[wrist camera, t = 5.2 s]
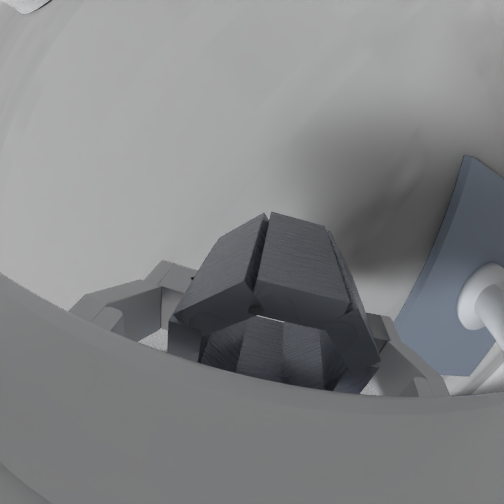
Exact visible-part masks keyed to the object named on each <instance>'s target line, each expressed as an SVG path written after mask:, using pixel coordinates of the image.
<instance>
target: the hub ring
mask: <svg viewBox="0 0 504 504" xmlns="http://www.w3.org/2000/svg"><path fill="white" fill-rule="evenodd" d="M256 315H260V316H264V317H268V318H272V319H276V320H280V321H284V323H283V322H278V321H274V320H270V319H266V318H262V317H258V316H256ZM167 353H169V354H172V355H175V356H178V357H181V358H184V359H187V360H191V361H194V362H197V363H201V364H204V365H208V366H211V367H215V368H218V369H222V370H226V371H230V372H233V373H237V374H242V375H246V376H250V377H254V378H259V379H263V380H268V381H273V382H278V383H283V384H289V385H295V386H300V387H307V388H313V389H320V390H327V391H335V392H343V393H353V394H359V393H360V392H361V391H362V390H363V389H364V387H365V386H366V385H367V384H368V382H369V381H370V380H371V379H372V377H373V376H374V375H375V373H376V372H377V371H378V369H379V368H380V367H379V363H378V362H381V359H380V356H379V352H378V349H377V346H376V343H375V339H374V336H373V333H372V330H371V327H370V324H369V321H368V318H367V315H366V313H365V310H364V307H363V304H362V301H361V299H360V296H359V293H358V290H357V288H356V285H355V282H354V280H353V277H352V275H351V272H350V270H349V268H348V266H347V264H346V262H345V260H344V258H343V256H342V254H341V252H340V250H339V248H338V246H337V244H336V242H335V240H334V238H333V236H332V234H331V232H330V231H328V232H326V229H325V226H321V225H318V224H314V223H311V222H307V221H304V220H300V219H297V218H293V217H289V216H286V215H282V214H278V213H274V212H271V215H270V219H269V220H268V218H267V217H266V215H265V213H263V214H261V215H259V216H257V217H255V218H254V219H252V220H250V221H248V222H246V223H245V224H243V225H241V226H239V227H238V228H236V229H234V230H232V231H231V232H229V233H227V234H225V235H224V236H222V237H220V238H219V239H218V241H217V242H216V243H215V245H214V246H213V248H212V249H211V251H210V253H209V254H208V256H207V257H206V259H205V261H204V262H203V264H202V266H201V267H200V269H199V270H198V272H197V274H196V275H195V277H194V279H193V280H192V282H191V284H190V285H189V287H188V289H187V290H186V292H185V294H184V295H183V297H182V299H181V300H180V302H179V304H178V305H177V307H176V309H175V310H174V312H173V314H172V315H171V317H170V319H169V322H168V351H167Z"/></svg>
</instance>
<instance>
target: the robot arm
mask: <svg viewBox="0 0 504 504" xmlns="http://www.w3.org/2000/svg"><path fill="white" fill-rule="evenodd" d="M0 1H2V2H5V3H6V4H8V5H10V6H12V7H13V8H15V9H16V10H17V11H19V12H20V13H22V14H27V13H30V12H32V11H34V10H36V9H38V8H40V7H41V6H42V5H44V4H45V3H47V2H48V1H49V0H0ZM197 272H198V270H195V269H191V268H188V267H185V266H182V265H178V264H175V263H172V262H168V261H165V260H162V261H161V262H160V263H159V264H158V265H157V266H156V267H155V268H154V269H153V271H152V272H151V273H150V274H149V275H148V276H147V277H146V278H145V280H144V281H143V280H136V281H133V282H129V283H126V284H122V285H118V286H115V287H111V288H108V289H104V290H101V291H97V292H93V293H90V294H86V295H84V296H83V297H82V298H81V299H80V300H79V301H78V302H77V303H76V304H75V305H74V306H73V307H72V308H71V309H70V310H69V311H66V310H64V309H62V308H60V307H58V306H56V305H54V304H53V303H51V302H49V301H47V300H45V299H43V298H42V297H40V296H38V295H36V294H34V293H33V292H31V291H29V290H28V289H26V288H24V287H23V286H21V285H19V284H18V283H16V282H14V281H13V280H11V279H10V278H8V277H7V276H5V275H3V274H2V273H0V504H504V392H496V393H488V394H479V395H467V396H450V394H449V392H448V389H447V387H446V384H445V382H444V380H443V378H442V377H441V376H440V375H439V374H438V373H437V372H436V371H435V370H434V369H433V368H432V367H430V366H429V365H428V364H427V363H426V362H425V361H424V360H423V359H422V358H421V357H419V356H418V355H417V354H416V353H415V352H414V351H413V350H412V349H411V348H409V347H408V346H407V345H406V344H405V343H402V342H401V339H400V337H399V335H398V332H397V330H396V328H395V325H394V323H393V321H392V319H391V318H390V317H389V316H382V315H376V314H371V313H366V312H365V313H366V315H367V318H368V321H369V324H370V327H371V330H372V333H373V336H374V339H375V343H376V346H377V349H378V352H379V356H380V359H381V362H378V363H379V367H380V368H379V369H378V371H377V372H376V373H375V375H374V376H373V377H372V379H371V380H370V381H369V382H368V383H369V384H370V385H371V387H372V388H373V390H374V391H375V392H376V394H377V395H378V396H376V395H364V394H353V393H343V392H335V391H327V390H320V389H313V388H307V387H300V386H295V385H289V384H283V383H278V382H273V381H268V380H263V379H259V378H254V377H250V376H246V375H242V374H237V373H233V372H230V371H226V370H222V369H218V368H215V367H211V366H208V365H204V364H201V363H197V362H194V361H191V360H187V359H184V358H181V357H178V356H175V355H172V354H169V353H166V352H163V351H160V350H158V349H155V348H152V347H149V346H146V345H144V344H141V343H139V342H138V341H140V340H141V339H143V338H145V337H147V336H149V335H150V334H152V333H154V332H156V331H158V330H159V329H160V328H162V329H165V330H168V322H169V319H170V317H171V315H172V314H173V312H174V310H175V309H176V307H177V305H178V304H179V302H180V300H181V299H182V297H183V295H184V294H185V292H186V290H187V289H188V287H189V285H190V284H191V282H192V280H193V279H194V277H195V275H196V274H197Z"/></svg>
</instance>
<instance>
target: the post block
mask: <svg viewBox="0 0 504 504" xmlns="http://www.w3.org/2000/svg"><path fill="white" fill-rule="evenodd" d="M394 325H395V328H396V330H397V332H398V335H399V337H400V339H401V342H402V343H405V344H406V345H407V346H408V347H409V348H411V349H412V350H413V351H414V352H415V353H416V354H417V355H418V356H419V357H421V358H422V359H423V360H424V361H425V362H426V363H427V364H428V365H429V366H430V367H432V368H433V369H434V370H435V371H436V372H437V373H438V374H439V375H452V376H470V375H471V374H472V372H473V371H474V370H475V369H476V367H477V366H478V365H479V364H480V362H481V361H482V360H483V358H484V357H485V356H486V354H487V353H488V352H489V350H490V349H491V347H492V346H493V344H494V343H495V342H496V341H497V342H498V344H499V345H500V347H501V348H502V350H503V351H504V179H503V178H501V177H500V176H499V175H497V174H496V173H495V172H493V171H492V170H491V169H489V168H488V167H487V166H485V165H484V164H482V163H481V162H480V161H478V160H477V159H475V158H474V157H472V156H466V155H464V157H463V161H462V165H461V168H460V172H459V175H458V179H457V182H456V185H455V189H454V192H453V195H452V198H451V201H450V204H449V207H448V209H447V212H446V215H445V218H444V220H443V223H442V225H441V228H440V231H439V233H438V236H437V238H436V240H435V243H434V245H433V247H432V250H431V252H430V254H429V256H428V259H427V261H426V263H425V265H424V267H423V269H422V271H421V273H420V275H419V278H418V280H417V282H416V283H415V285H414V287H413V289H412V291H411V293H410V295H409V297H408V299H407V301H406V302H405V304H404V306H403V308H402V310H401V311H400V313H399V315H398V317H397V318H396V320H395V322H394Z"/></svg>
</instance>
